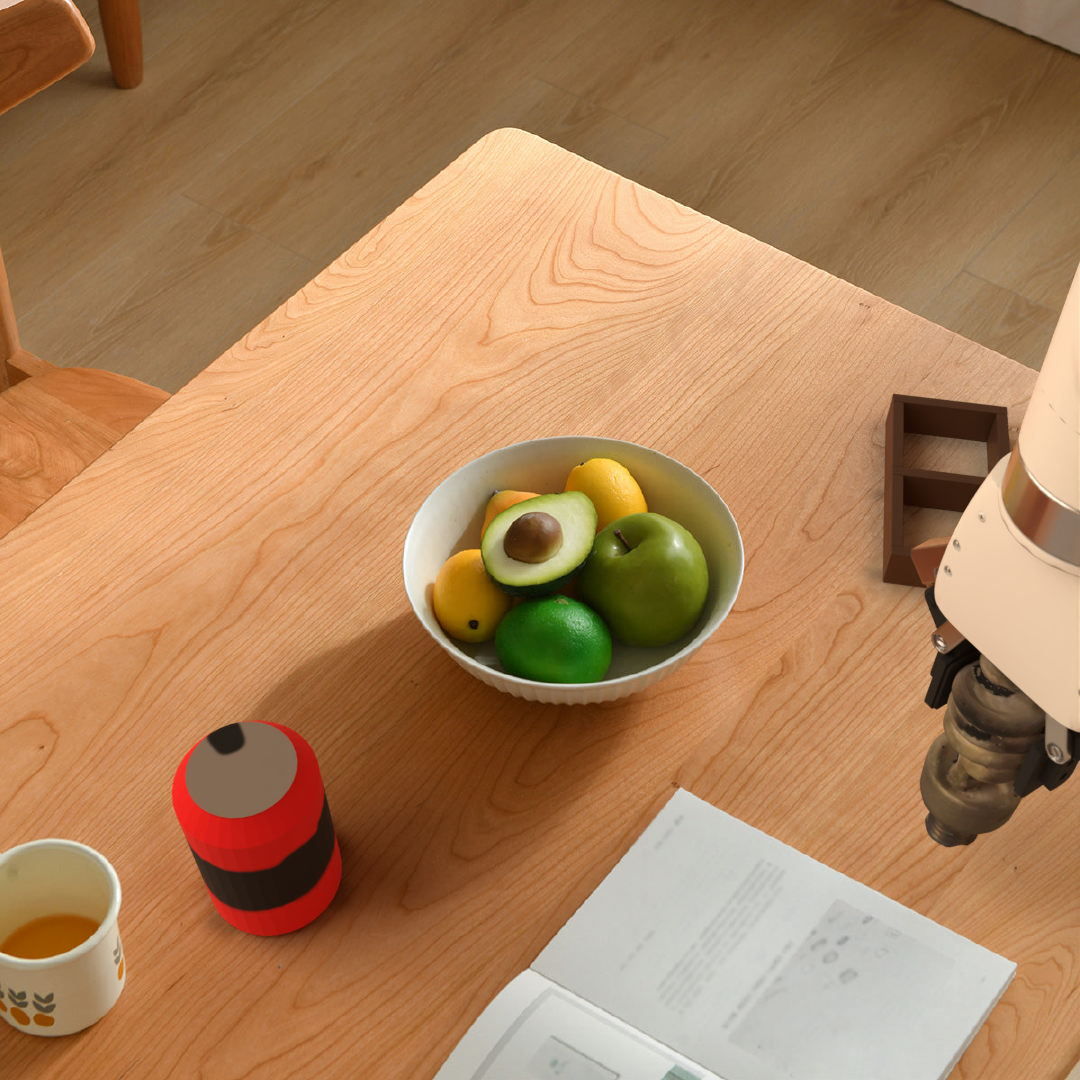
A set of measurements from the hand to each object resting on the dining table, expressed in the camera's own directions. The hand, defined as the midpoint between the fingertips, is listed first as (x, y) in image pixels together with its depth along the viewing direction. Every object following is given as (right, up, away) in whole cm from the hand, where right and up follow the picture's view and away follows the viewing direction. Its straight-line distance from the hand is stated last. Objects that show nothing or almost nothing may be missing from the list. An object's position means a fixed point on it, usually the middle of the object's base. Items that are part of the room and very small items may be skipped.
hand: (993, 734), depth 69 cm
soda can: (-38, -10, +10) cm, 40 cm away
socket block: (+6, +12, +28) cm, 31 cm away
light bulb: (0, -7, +8) cm, 10 cm away
